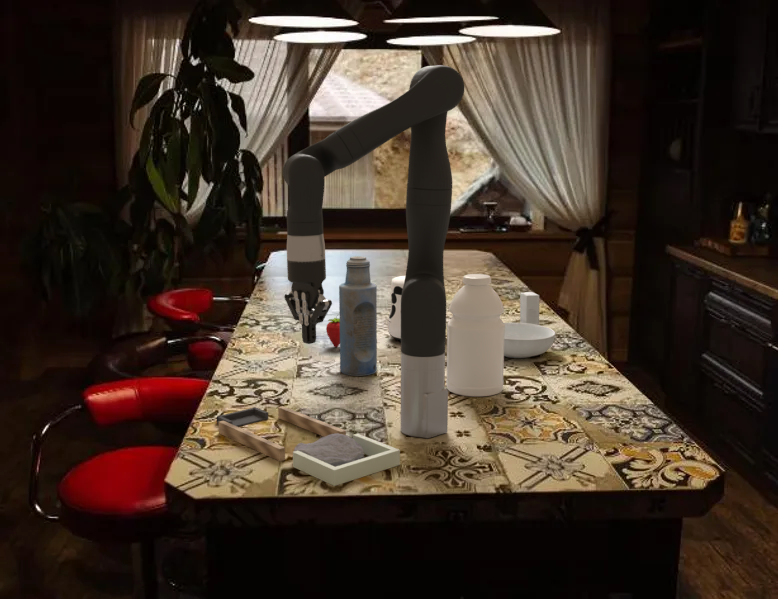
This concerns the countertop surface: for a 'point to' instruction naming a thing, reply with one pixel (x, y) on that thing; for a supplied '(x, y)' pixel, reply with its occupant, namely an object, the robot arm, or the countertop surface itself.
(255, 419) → the dark gray shallow tray
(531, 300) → the skincare box
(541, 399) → the countertop surface
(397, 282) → the milk container
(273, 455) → the channel
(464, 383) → the bottle
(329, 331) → the strawberry
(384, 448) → the u-shaped green frame
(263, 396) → the countertop surface
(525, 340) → the serving bowl
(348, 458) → the stone block
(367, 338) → the bottle
